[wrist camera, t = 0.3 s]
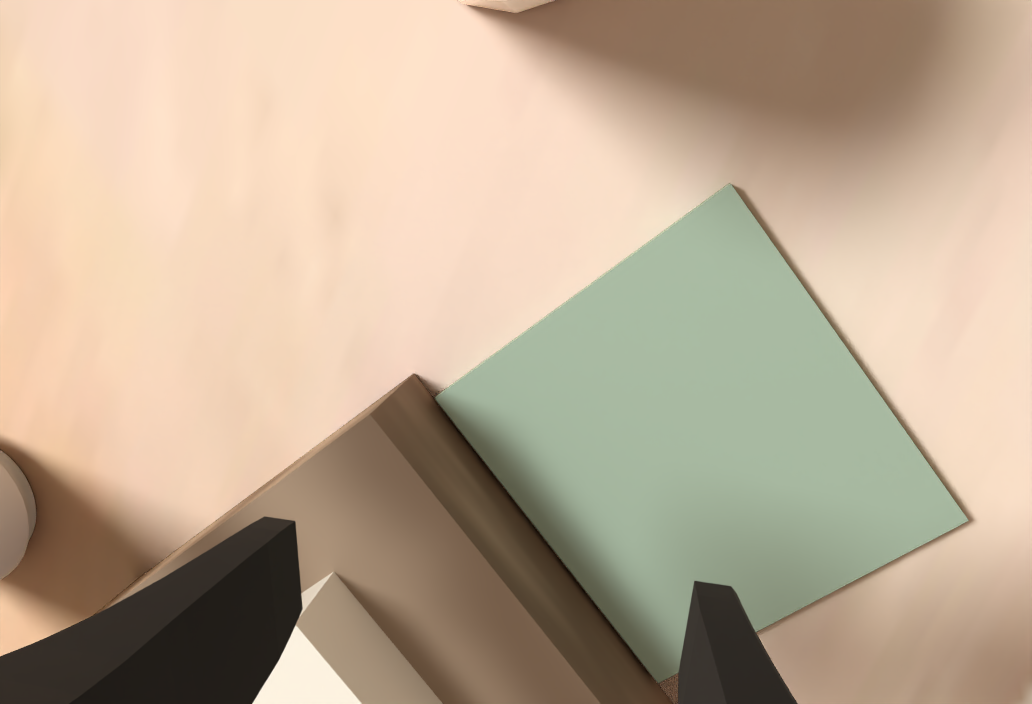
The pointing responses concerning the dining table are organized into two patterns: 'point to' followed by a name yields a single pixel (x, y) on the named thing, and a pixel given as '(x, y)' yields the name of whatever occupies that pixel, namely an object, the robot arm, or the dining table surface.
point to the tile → (341, 657)
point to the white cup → (506, 4)
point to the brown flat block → (438, 562)
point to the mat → (699, 437)
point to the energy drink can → (14, 515)
